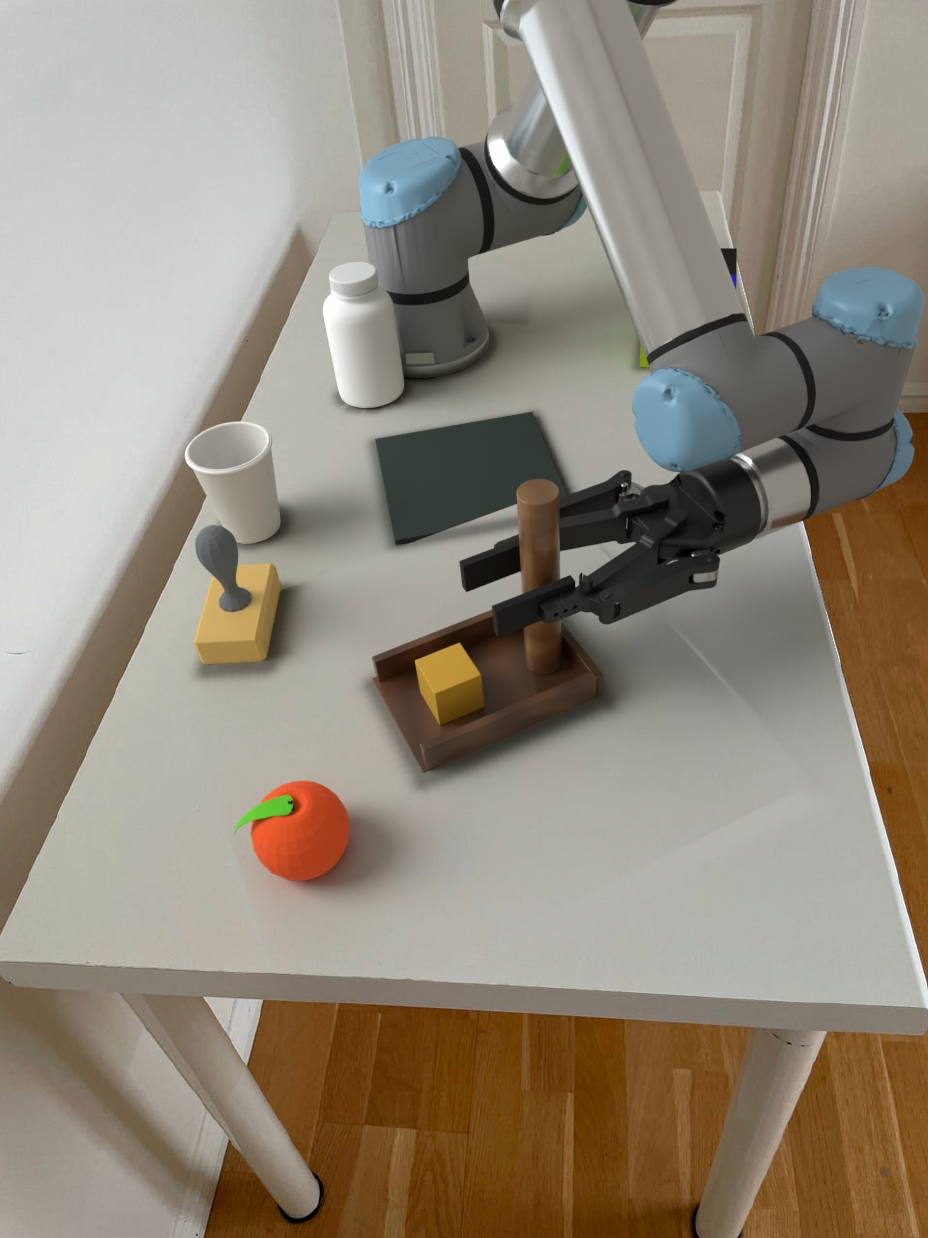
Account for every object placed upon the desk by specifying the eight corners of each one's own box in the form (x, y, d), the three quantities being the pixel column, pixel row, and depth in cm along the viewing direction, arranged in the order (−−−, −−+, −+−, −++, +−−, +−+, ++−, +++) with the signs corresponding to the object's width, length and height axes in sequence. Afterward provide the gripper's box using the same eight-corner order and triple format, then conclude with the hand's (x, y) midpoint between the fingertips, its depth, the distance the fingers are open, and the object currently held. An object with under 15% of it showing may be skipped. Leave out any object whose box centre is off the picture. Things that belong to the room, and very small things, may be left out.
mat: (375, 442, 105) (375, 438, 105) (532, 415, 106) (532, 411, 106) (395, 544, 93) (394, 540, 92) (572, 512, 94) (572, 508, 93)
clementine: (250, 912, 66) (223, 859, 61) (247, 829, 71) (222, 774, 66) (362, 887, 67) (345, 833, 62) (351, 806, 72) (334, 750, 66)
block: (463, 674, 79) (459, 642, 76) (484, 707, 76) (481, 674, 73) (420, 692, 78) (414, 660, 75) (439, 726, 75) (434, 694, 72)
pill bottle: (415, 377, 114) (398, 257, 104) (390, 413, 109) (370, 291, 99) (355, 371, 117) (333, 253, 106) (328, 406, 111) (302, 286, 101)
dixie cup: (284, 492, 100) (261, 411, 93) (301, 538, 95) (279, 456, 88) (206, 513, 99) (178, 434, 92) (220, 562, 93) (191, 481, 86)
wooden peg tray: (539, 619, 84) (532, 441, 70) (603, 702, 77) (609, 522, 63) (373, 685, 80) (332, 511, 66) (424, 780, 73) (390, 606, 59)
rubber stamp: (268, 668, 82) (233, 567, 74) (203, 671, 83) (161, 571, 74) (283, 590, 89) (253, 489, 81) (224, 593, 90) (187, 493, 81)
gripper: (801, 598, 73) (536, 712, 67) (670, 478, 85) (435, 566, 79) (819, 523, 68) (533, 640, 62) (676, 406, 79) (425, 495, 74)
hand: (479, 598), depth 71 cm, fingers open, 5 cm apart
